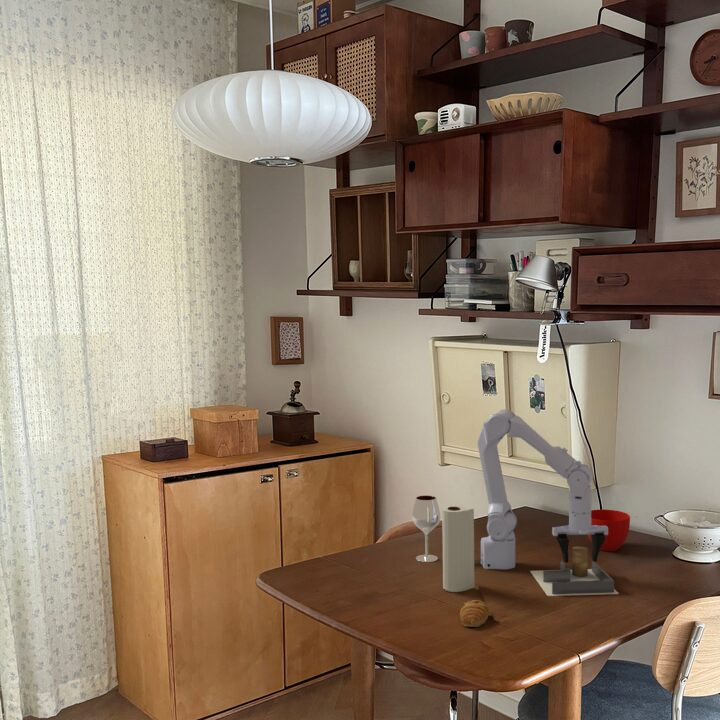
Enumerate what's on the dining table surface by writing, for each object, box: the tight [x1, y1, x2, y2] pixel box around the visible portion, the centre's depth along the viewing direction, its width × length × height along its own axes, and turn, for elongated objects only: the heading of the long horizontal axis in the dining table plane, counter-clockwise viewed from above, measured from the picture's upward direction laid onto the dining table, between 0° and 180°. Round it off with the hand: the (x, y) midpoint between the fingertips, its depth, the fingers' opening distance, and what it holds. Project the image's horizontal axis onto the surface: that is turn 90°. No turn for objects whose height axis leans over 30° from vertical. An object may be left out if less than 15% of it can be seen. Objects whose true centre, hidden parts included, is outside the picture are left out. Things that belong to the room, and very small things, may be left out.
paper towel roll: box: [441, 505, 475, 593], centre depth 210 cm, size 7×6×21 cm
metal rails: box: [542, 559, 615, 594], centre depth 212 cm, size 16×16×3 cm
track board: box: [529, 568, 620, 597], centre depth 212 cm, size 18×18×1 cm
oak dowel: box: [571, 546, 589, 577], centre depth 217 cm, size 4×4×7 cm
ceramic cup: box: [587, 508, 631, 552], centre depth 241 cm, size 13×17×10 cm
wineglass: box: [411, 495, 441, 563], centre depth 235 cm, size 8×8×18 cm
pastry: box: [459, 599, 490, 628], centre depth 191 cm, size 9×7×4 cm
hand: (579, 561), depth 217 cm, fingers open, 7 cm apart
